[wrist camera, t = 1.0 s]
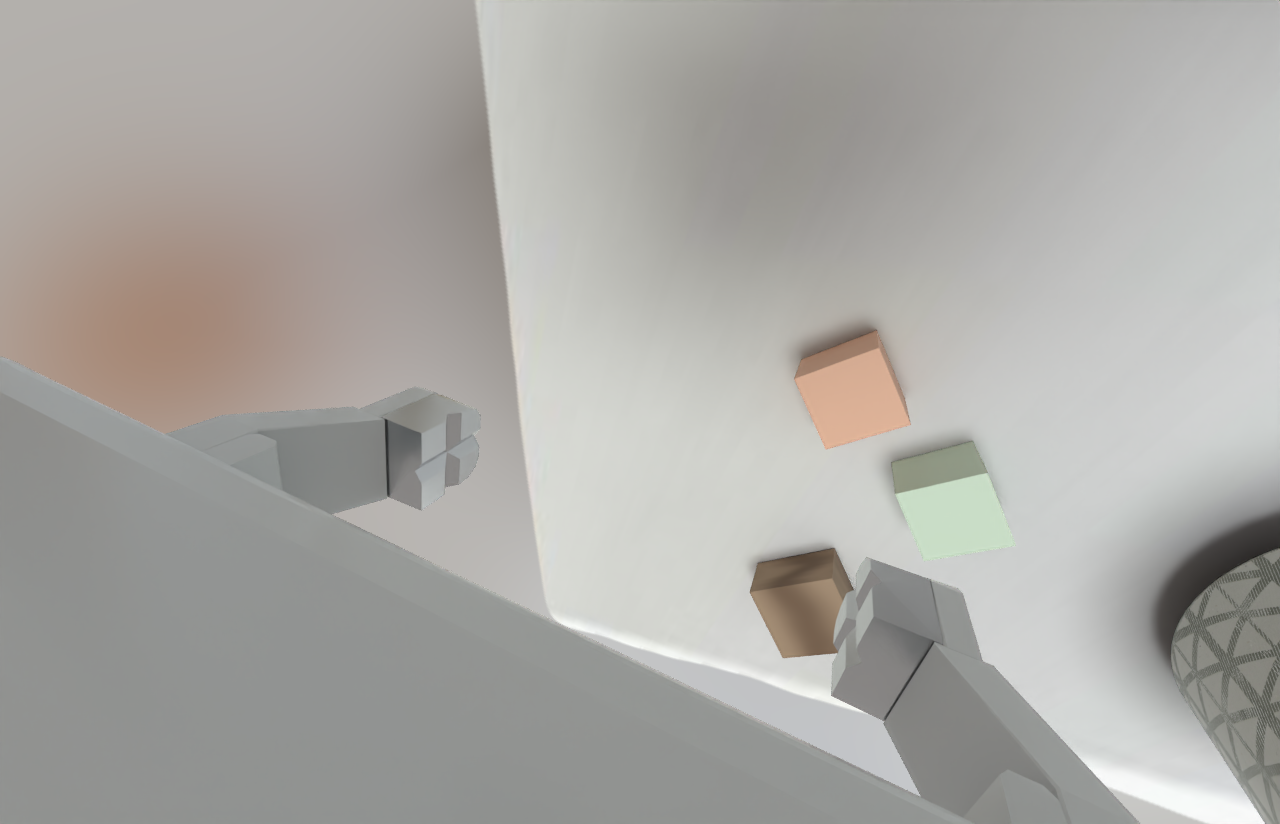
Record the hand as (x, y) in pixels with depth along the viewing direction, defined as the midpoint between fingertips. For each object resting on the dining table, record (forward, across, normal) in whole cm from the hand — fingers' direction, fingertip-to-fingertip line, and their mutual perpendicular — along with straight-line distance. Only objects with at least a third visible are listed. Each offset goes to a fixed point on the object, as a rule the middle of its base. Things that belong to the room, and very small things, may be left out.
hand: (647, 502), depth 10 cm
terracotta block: (+31, -6, +5) cm, 32 cm away
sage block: (+31, -15, +11) cm, 36 cm away
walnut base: (+31, -9, +25) cm, 41 cm away
